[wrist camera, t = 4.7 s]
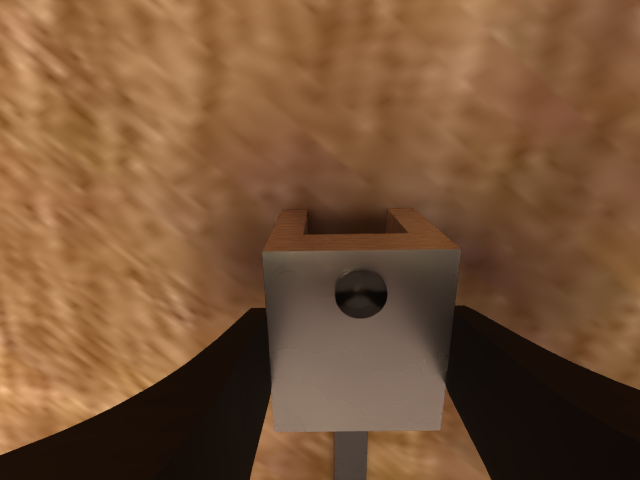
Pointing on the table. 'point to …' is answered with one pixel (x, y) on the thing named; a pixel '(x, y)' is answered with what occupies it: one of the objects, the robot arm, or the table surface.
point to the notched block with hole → (359, 324)
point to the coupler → (350, 455)
